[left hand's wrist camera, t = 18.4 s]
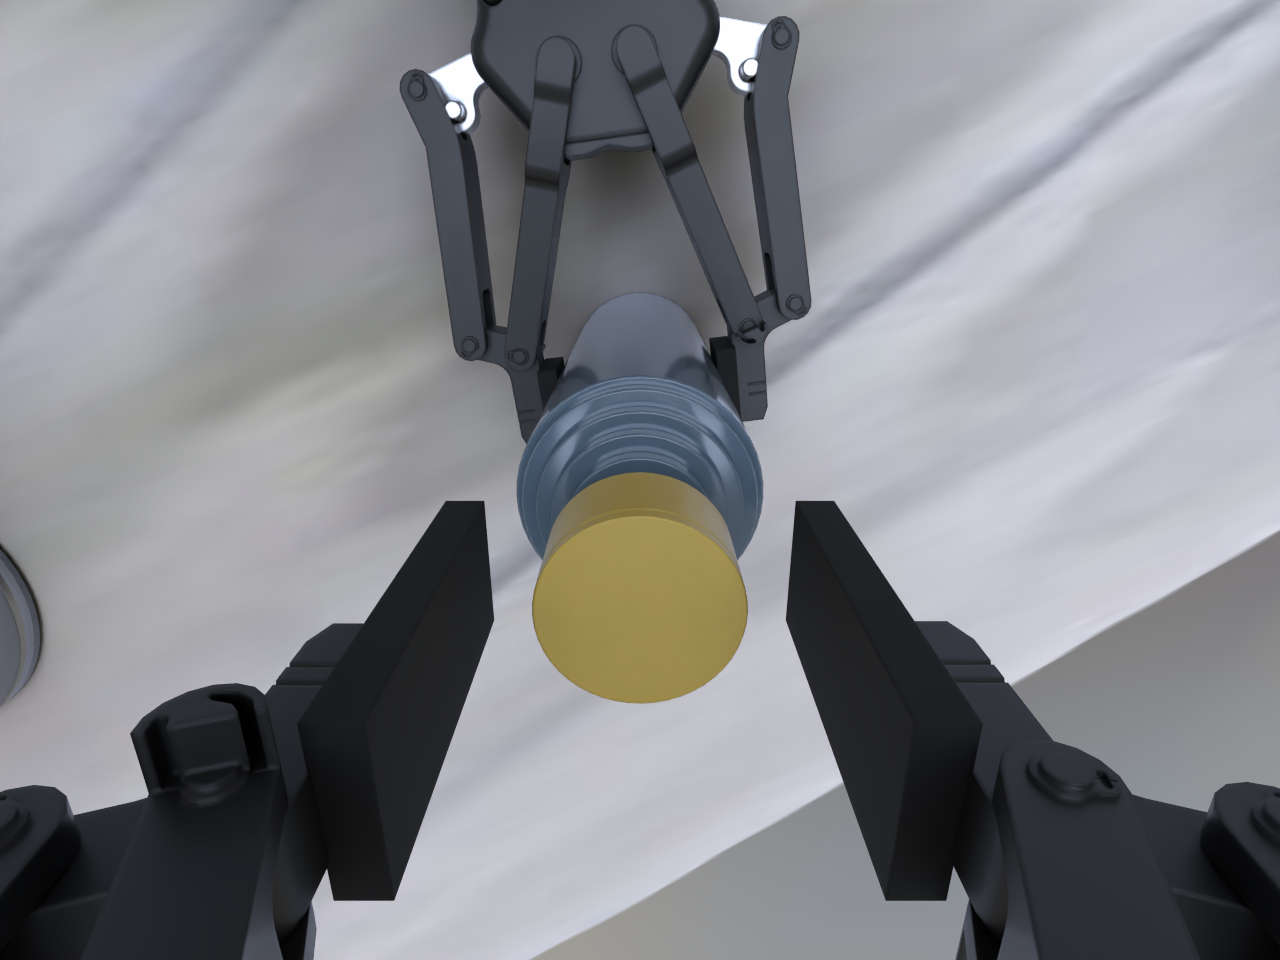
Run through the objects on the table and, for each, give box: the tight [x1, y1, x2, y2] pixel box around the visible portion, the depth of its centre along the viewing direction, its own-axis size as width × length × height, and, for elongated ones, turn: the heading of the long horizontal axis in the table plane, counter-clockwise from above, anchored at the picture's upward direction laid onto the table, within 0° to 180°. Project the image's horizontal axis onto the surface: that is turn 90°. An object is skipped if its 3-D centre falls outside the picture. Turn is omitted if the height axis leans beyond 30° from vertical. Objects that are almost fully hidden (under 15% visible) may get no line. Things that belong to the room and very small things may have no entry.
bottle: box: [517, 293, 763, 560], centre depth 24 cm, size 6×6×23 cm
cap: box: [532, 472, 748, 703], centre depth 14 cm, size 4×4×2 cm
